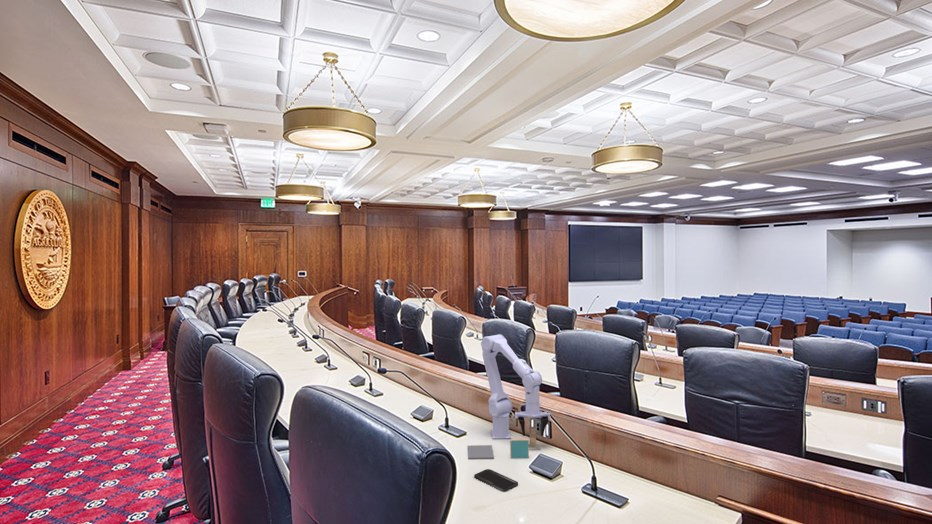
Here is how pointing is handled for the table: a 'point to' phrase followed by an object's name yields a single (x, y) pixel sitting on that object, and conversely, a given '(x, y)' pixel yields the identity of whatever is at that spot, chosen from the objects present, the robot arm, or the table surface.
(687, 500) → the table surface
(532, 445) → the grey square paddle
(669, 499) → the table surface
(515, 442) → the tile
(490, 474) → the phone
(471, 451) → the mat
